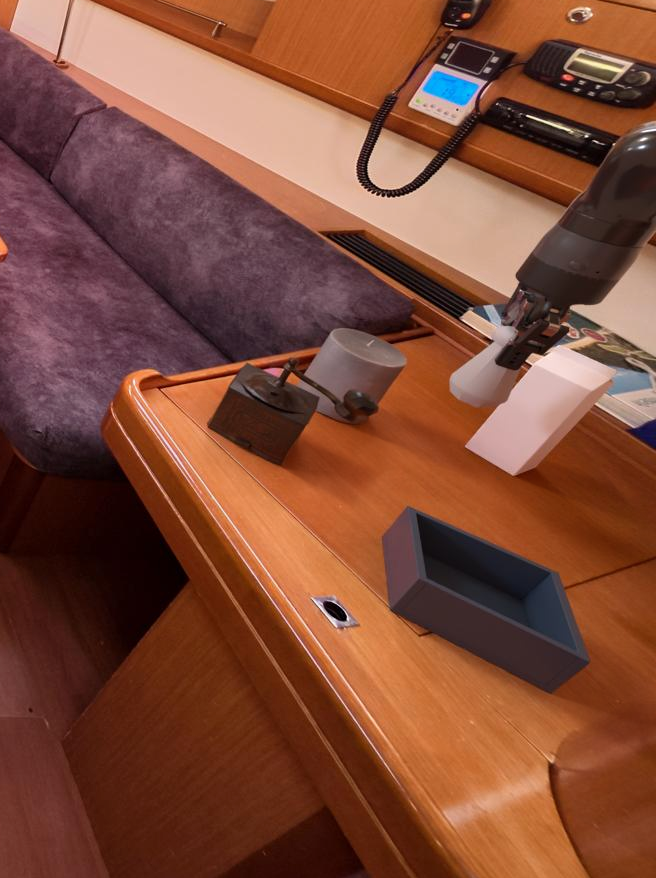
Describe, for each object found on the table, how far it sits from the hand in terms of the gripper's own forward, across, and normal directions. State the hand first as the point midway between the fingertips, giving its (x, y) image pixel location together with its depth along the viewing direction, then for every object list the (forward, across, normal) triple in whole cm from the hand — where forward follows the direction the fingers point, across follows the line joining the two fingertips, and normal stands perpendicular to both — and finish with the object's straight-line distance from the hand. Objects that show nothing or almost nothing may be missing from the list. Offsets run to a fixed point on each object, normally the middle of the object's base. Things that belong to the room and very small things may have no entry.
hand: (502, 357), depth 91 cm
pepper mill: (+23, -12, +19) cm, 32 cm away
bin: (+23, -29, -2) cm, 37 cm away
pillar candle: (+23, +7, +11) cm, 26 cm away
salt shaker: (+8, 0, 0) cm, 8 cm away
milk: (+23, +11, -10) cm, 28 cm away
